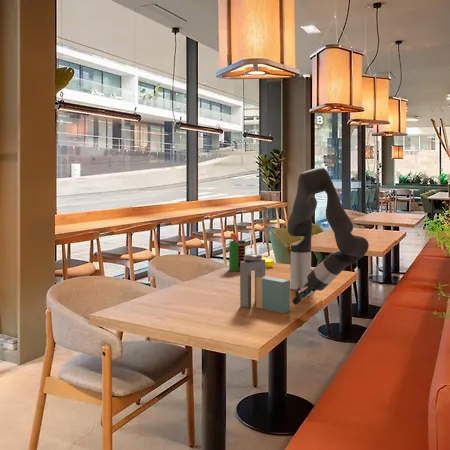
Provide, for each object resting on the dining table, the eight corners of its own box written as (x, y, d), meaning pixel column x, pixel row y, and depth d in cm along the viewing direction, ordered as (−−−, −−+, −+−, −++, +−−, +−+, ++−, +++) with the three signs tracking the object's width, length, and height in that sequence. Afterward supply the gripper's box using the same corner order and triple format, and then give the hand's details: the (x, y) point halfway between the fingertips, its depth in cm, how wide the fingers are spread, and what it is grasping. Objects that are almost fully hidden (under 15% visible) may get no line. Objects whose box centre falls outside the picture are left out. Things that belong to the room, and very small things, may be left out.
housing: (268, 303, 205) (268, 254, 203) (250, 308, 197) (250, 258, 195) (254, 300, 209) (254, 253, 207) (237, 305, 201) (237, 256, 199)
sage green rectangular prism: (289, 311, 193) (290, 280, 192) (282, 313, 190) (283, 282, 189) (263, 305, 202) (263, 275, 201) (256, 307, 199) (256, 277, 198)
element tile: (250, 270, 276) (250, 261, 276) (239, 265, 290) (239, 257, 290) (275, 268, 282) (275, 259, 281) (263, 263, 296) (263, 255, 295)
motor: (243, 272, 269) (243, 234, 267) (227, 271, 271) (227, 234, 269) (246, 268, 279) (246, 232, 277) (231, 268, 281) (230, 232, 279)
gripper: (326, 264, 186) (298, 291, 195) (306, 269, 176) (278, 297, 186) (339, 280, 183) (310, 307, 192) (319, 286, 173) (289, 314, 183)
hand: (294, 302), depth 189 cm, fingers closed
